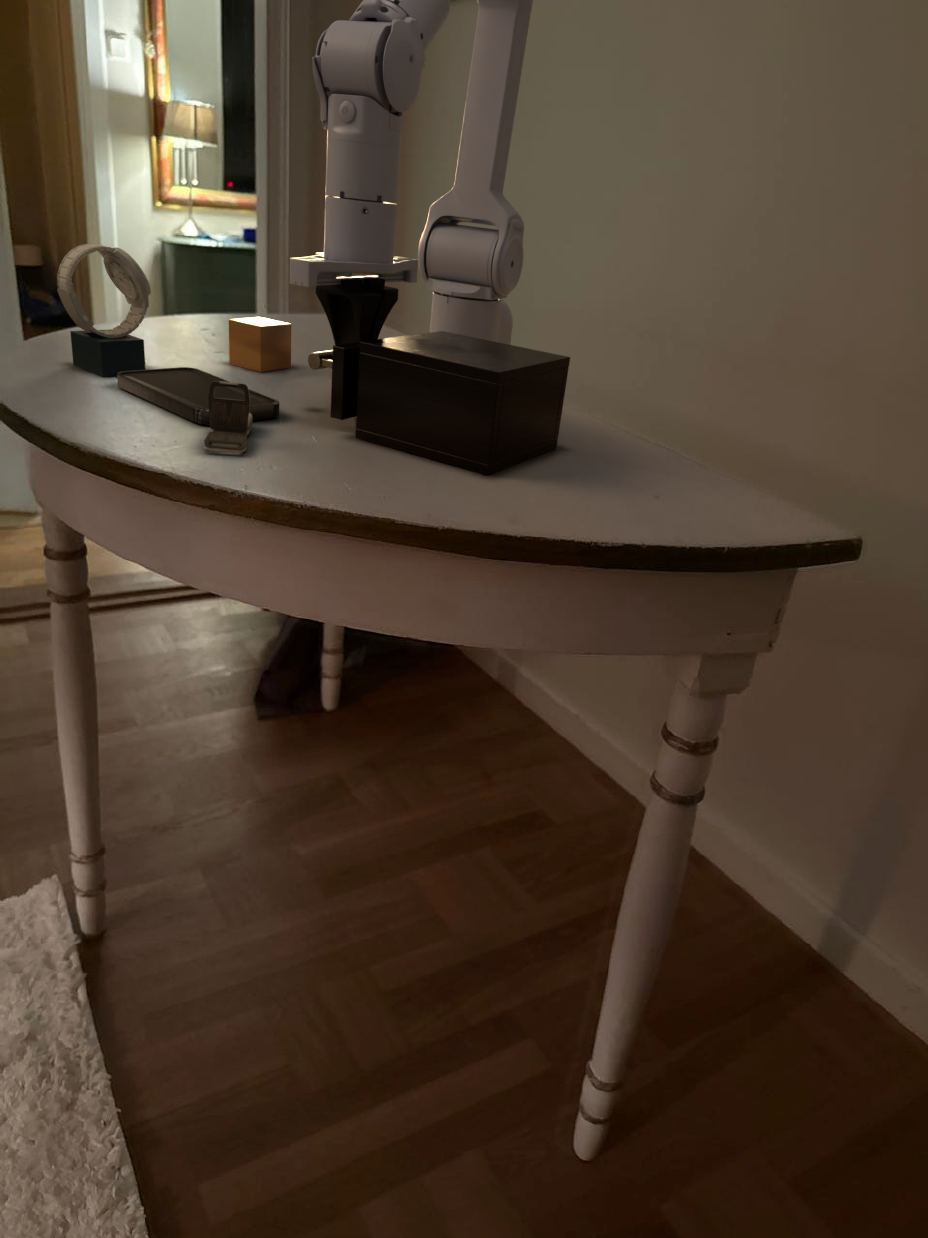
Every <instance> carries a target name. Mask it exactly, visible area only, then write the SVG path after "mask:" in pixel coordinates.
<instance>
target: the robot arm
mask: <svg viewBox="0 0 928 1238" xmlns="http://www.w3.org/2000/svg"><path fill="white" fill-rule="evenodd" d="M476 2H477V6H478V10H477V18H476V25H475V32H474V41H473V47H472V53H471V62H470V67H469V76H468V82H467V90H466V97H465V105H464V110H463V111H464V112H463V119H462V120H463V121H462V126H461V134H460V140H459V147H458V153H457V154H458V155H457V162H456V167H455V176H454V182H453V187H452V188H451V189H450V190H449V191H447V192H446V193H445V194H443V195H442V196H440V197H439V198H438V199H436V200H435V201H434V202H433V203H431V205H430V206H429V207H428V208H429V209H428V214H427V219H426V223H425V225H424V230H423V232H422V233H421V237H420V239H419V243H418V247H417V249H418V250H417V259H416V258H411V257H405V256H395V242H396V241H395V240H396V226H397V225H396V224H397V211H398V208H397V207H398V193H399V192H398V191H399V175H400V159H401V147H402V145H401V144H402V127H403V114H404V113H405V112H407V111H408V110H409V109H410V108H411V107H412V106H413V105H414V104H415V103H416V100H417V97H418V93H419V91H420V90H419V89H420V86H421V85H420V84H421V76H422V71H423V69H424V67H425V63H426V60H427V59H426V51H427V50H428V49H429V47H430V45H431V43H432V42H433V40H434V39H435V37H436V36H437V34H438V33H439V31H440V30H441V28H442V27H443V25H444V23H445V22H446V21H447V19H448V16H449V13H450V9H451V0H362V1H361V2H360V4H359V5H358V7H357V8H356V9H355V11H354V12H353V14H352V15H351V17H350V18H349V20H344V19H343V20H341V19H340V20H336V21H334V22H332V23H331V24H330V25H329V27H328V28H326V29H325V30H324V31H323V32H322V33H321V35H320V36H319V38H318V41H317V44H316V47H315V48H316V49H315V56H312V64H311V65H312V75H313V80H314V85H315V88H316V91H317V93H318V97H319V103H320V117H319V118H320V121H321V126H322V129H323V130H326V133H327V134H326V161H325V162H326V167H325V168H326V169H325V197H324V198H325V200H324V235H323V236H324V238H323V252H315V255H309V256H301V257H299V256H298V257H289V284H290V285H293V286H299V287H303V288H315V295H316V297H317V298H318V300H319V302H320V304H321V306H322V309H323V311H324V313H325V316H326V318H327V321H328V323H329V327H330V330H331V334H332V338H333V341H334V342H333V343H334V345H342V344H350V343H357V342H361V341H368V340H376V339H379V336H380V334H381V331H382V329H383V326H384V324H385V322H386V320H387V319H388V316H389V314H391V311H392V309H393V308H394V306H395V305H396V303H397V302H398V301H399V288H397V287H393V286H392V287H391V286H386V283H400V282H401V283H402V282H404V283H408V284H409V283H410V284H411V283H412V284H415V283H418V271H419V273H420V274H421V277H422V280H423V281H424V282H425V284H427V286H426V287H427V288H426V290H427V291H431V292H432V299H431V312H430V322H429V323H430V324H429V333H431V332H438V331H445V332H450V333H455V334H459V335H464V336H469V337H474V338H479V339H484V340H489V341H494V342H499V343H503V344H508V345H511V343H512V335H513V327H514V325H513V324H514V319H513V313H512V311H511V308H510V306H509V305H508V303H507V301H506V300H504V299H507V298H508V296H509V295H510V294H511V292H512V291H514V289H516V287H517V285H518V283H519V281H520V279H521V275H522V271H523V266H524V247H523V246H524V233H525V222H524V220H523V218H522V216H521V215H520V213H519V212H518V211H517V209H516V208H515V207H514V206H513V205H512V204H511V203H510V201H509V200H508V199H507V198H506V197H505V195H504V194H503V192H504V186H505V181H506V174H507V167H508V161H509V155H510V148H511V143H512V135H513V128H514V124H515V123H514V122H515V116H516V109H517V103H518V96H519V91H520V85H521V77H522V71H523V66H524V58H525V53H526V47H527V39H528V32H529V27H530V22H531V21H530V20H531V15H532V10H533V9H532V8H533V3H534V0H476ZM460 223H468V224H469V223H470V224H476V225H477V224H478V225H485V226H493V227H496V228H497V229H494V228H487V227H481V226H480V227H479V226H472V225H465V224H460ZM353 274H362V275H353ZM363 274H364V275H363ZM365 274H367V275H365ZM372 274H373V275H372Z"/></svg>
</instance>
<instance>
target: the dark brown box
mask: <svg viewBox="0 0 928 1238" xmlns="http://www.w3.org/2000/svg"><path fill="white" fill-rule="evenodd" d="M570 363H571V356H567V355H562V354H556V353H552V352H547V351H542V350H537V349H532V348H527V347H522V346H517V345H513V344H510V345H508V344H503V343H499V342H494V341H489V340H484V339H479V338H474V337H469V336H464V335H459V334H455V333H450V332H445V331H438V332H431V333H430V332H424V333H415V334H409V335H402V336H400V335H399V336H392V337H385V338H378V339H376V340H368V341H361V342H360V356H359V377H358V398H357V417H356V420H355V421H356V422H355V424H356V425H355V438H356V439H359V440H363V441H366V442H370V443H373V444H377V445H380V446H385V447H387V448H391V449H394V450H398V451H402V452H405V453H408V454H411V455H416V456H419V457H422V458H426V459H429V460H432V461H437V462H439V463H444V464H447V465H450V466H454V467H456V468H457V467H458V468H461V469H465V470H469V471H472V472H475V473H479V474H482V475H486V476H488V475H491V474H495V473H496V472H499V471H501V470H504V469H507V468H510V467H512V466H514V465H517V464H519V463H522V462H525V461H527V460H530V459H532V458H535V457H537V456H539V455H542V454H545V453H548V452H549V451H553V450H556V449H557V447H558V439H559V435H560V434H559V433H560V429H561V428H560V427H561V421H562V414H563V408H564V407H563V406H564V402H565V394H566V389H567V388H566V387H567V381H568V375H569V370H570V369H569V367H570Z"/></svg>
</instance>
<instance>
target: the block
mask: <svg viewBox="0 0 928 1238" xmlns="http://www.w3.org/2000/svg"><path fill="white" fill-rule="evenodd" d="M228 358H229V363H228V364H229V365H232V366H234V367H235V366H237V367H240V368H243V369H246V370H247V369H248V370H251V371H254V372H255V371H256V372H258V373H264V372H271V371H278V370H284V369H291V368H292V323H289V322H285V321H281V320H278V319H277V320H276V319H271V318H267V317H264V316H263V317H262V316H254V317H253V316H251V317H239V318H229V319H228Z"/></svg>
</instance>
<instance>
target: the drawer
mask: <svg viewBox="0 0 928 1238" xmlns="http://www.w3.org/2000/svg"><path fill="white" fill-rule="evenodd" d="M359 356H360V342H357V343H350V344H342V345H335V344H334V345H333V346H332V349H329V350H323V351H315V352H311V353H310V354H309V355H308V357H307V364H308V366H309V368H311V369H312V370H315V371H316V370H322V369H331V389H330V390H331V393H330V418H331V419H336V420H338V421H345V420H348V419H352V418H357V398H358V377H359Z"/></svg>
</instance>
